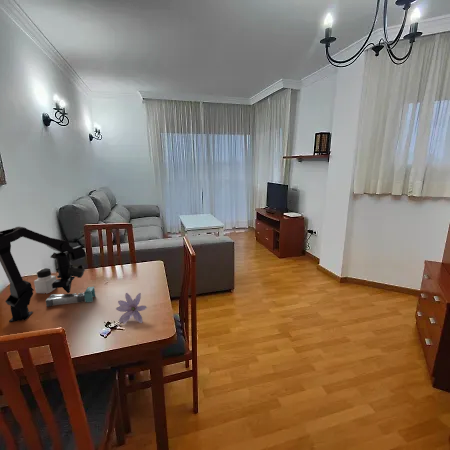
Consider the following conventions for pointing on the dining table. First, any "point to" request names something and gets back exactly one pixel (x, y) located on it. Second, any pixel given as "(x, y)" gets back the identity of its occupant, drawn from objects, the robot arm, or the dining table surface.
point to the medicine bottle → (44, 281)
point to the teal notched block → (89, 294)
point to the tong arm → (61, 295)
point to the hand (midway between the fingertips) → (68, 292)
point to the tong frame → (65, 300)
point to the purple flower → (130, 308)
